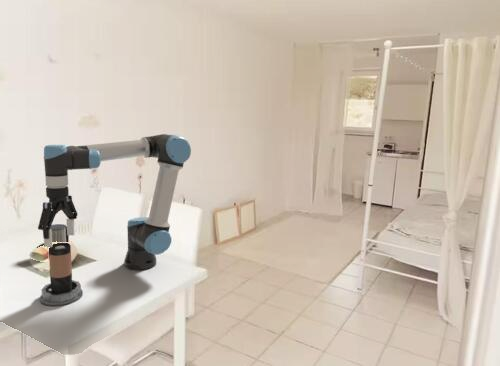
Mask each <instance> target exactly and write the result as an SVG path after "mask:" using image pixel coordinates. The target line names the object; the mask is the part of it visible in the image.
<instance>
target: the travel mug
mask: <svg viewBox="0 0 500 366" xmlns="http://www.w3.org/2000/svg"><path fill="white" fill-rule="evenodd" d="M71 246H72V245H71V244H70V243H57V244H53V246H52V247H50V248H49V259H48V260H49V278H50V283H51V292H52V294H62V293H66V292H70V291H72V280H73V267H72V265H73V264H72V249H71V248H72V247H71Z"/></svg>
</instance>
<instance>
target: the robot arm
mask: <svg viewBox="0 0 500 366" xmlns="http://www.w3.org/2000/svg"><path fill="white" fill-rule="evenodd" d="M191 149H192V148H191V144H190V143H189V141H188V140H187V139H186V138H184V137H183V136H180V135H175V134H164V133H163V134H156V135H151V136H150V135H149V136H142V137H141V138H140V139H135V140H126V141H116V142H107V143H105V142H104V143H96V144H86V145H77V146H76V145H68V146H66V145H65V144H48V145H45V146H44V147H43V159H44V160H43V161H44V162H43V163H44V175H45V178H44V179H45V186H46V188H45V195H46V196H45V197H46V198H48V202H42V210H41V215H40V219H39V222H38V226H37V229H38V230H40V231H42V237H43V243H44V248H45V247H47V248H48V247H52V246H53V245H52V229H50V227H51V225H53V222H54V220H55V218H56V215H57V214H58V213H60V211H62V212H63V214H64V215H65V216H66V226H67V235H69V236H75V220H77V218H78V211H77V209H76V207H75V205H74V201H73V197H72V195H70V194H69V191H70V190H69V173H68V172H69V171H72V170H92V169H97V168H100V166H101V162H108V161H114V160H122V159H130V158H131V159H132V158H138V157H143V158H145V159H147V158H156V159H157V161H156V163H157V164H158V166H159V168H158V172H157V176H156V177H157V178H156V181H155V182H156V183H155V186H154V192H153V196H152V200H151V201H152V202H151V206H150V209H149V210H150V211H149V215H148V217H147V216H144V217H143V216H142V217H133V218H130V219H129V220H127V226H126V228H127V251H126V255H125V257H124V261H123V262H124V263H123V266H124V268H126V269H128V270H133V271H141V270H149V269H150V268H153V267H155V266H156V265H157V257H156V256H157V255H161V254H163V253H164V252H166V251H167V250H168V249H169V248H170V246H171V245H172V236H171V234H170V227H171V224H170V223H169V222H168V220H169V216H170V213H171V211H170V210H171V208H172V207H171V206H172V202H173V198H174V194H175V190H176V189H175V188H176V184H177V180H178V175H179V171H180V170H181V169H183V167H184V164H185V163H186V162H187V161H188V160H189V159H190V157H191V154H192V150H191Z"/></svg>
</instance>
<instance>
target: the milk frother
mask: <svg viewBox="0 0 500 366" xmlns="http://www.w3.org/2000/svg"><path fill="white" fill-rule="evenodd" d="M50 229H52V242H56V241H57V242H69V241H70V239H69V237H70V235H67V224H62V223H55V224H52V225H51V227H50ZM43 245H44V242H43V243H41V244H39V245H37V247H36V248H38V247H40V246H43Z"/></svg>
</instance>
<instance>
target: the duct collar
mask: <svg viewBox="0 0 500 366" xmlns="http://www.w3.org/2000/svg"><path fill="white" fill-rule="evenodd" d="M81 286H82V284H81V282H80V281H78V280H74V279H72V291H70V292H66V293H62V294H52V292H51V282H50V283H48V284H45V285H44V286H43V287H42V289H41V295H40V297H39V301H40V303H41V304H42V305H44V306H48V307H62V306H66V305H70V304H73V303H75V302H78V301H79V300H80V299H81V298H82V297H83V294H84V293H83V292H84V291H83V289H82V287H81Z"/></svg>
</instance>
